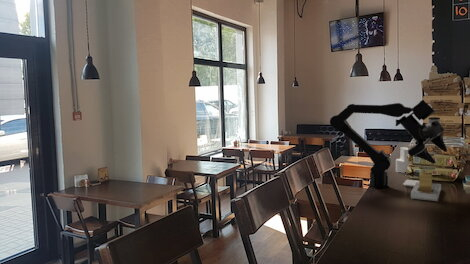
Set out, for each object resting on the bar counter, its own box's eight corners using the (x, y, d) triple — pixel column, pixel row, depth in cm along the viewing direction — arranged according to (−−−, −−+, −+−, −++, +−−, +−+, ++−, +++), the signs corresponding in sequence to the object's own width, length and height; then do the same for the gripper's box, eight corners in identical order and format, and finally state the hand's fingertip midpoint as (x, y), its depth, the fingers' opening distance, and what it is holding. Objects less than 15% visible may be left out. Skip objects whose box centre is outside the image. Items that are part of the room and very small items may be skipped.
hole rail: (437, 201, 137) (437, 194, 137) (410, 198, 142) (410, 191, 141) (440, 190, 152) (440, 184, 152) (416, 187, 157) (416, 181, 156)
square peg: (430, 198, 141) (431, 175, 140) (419, 196, 143) (419, 174, 142) (431, 195, 144) (432, 173, 144) (420, 194, 147) (420, 172, 146)
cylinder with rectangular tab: (417, 173, 184) (417, 149, 182) (397, 173, 185) (398, 149, 184) (412, 169, 192) (412, 147, 191) (393, 169, 194) (394, 147, 193)
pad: (428, 188, 156) (428, 186, 155) (403, 185, 161) (403, 184, 161) (430, 182, 164) (430, 181, 164) (406, 180, 169) (406, 179, 169)
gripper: (414, 130, 142) (443, 162, 138) (439, 108, 150) (467, 138, 146) (396, 141, 151) (423, 171, 148) (420, 120, 159) (446, 148, 156)
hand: (440, 157), depth 149 cm, fingers open, 9 cm apart
